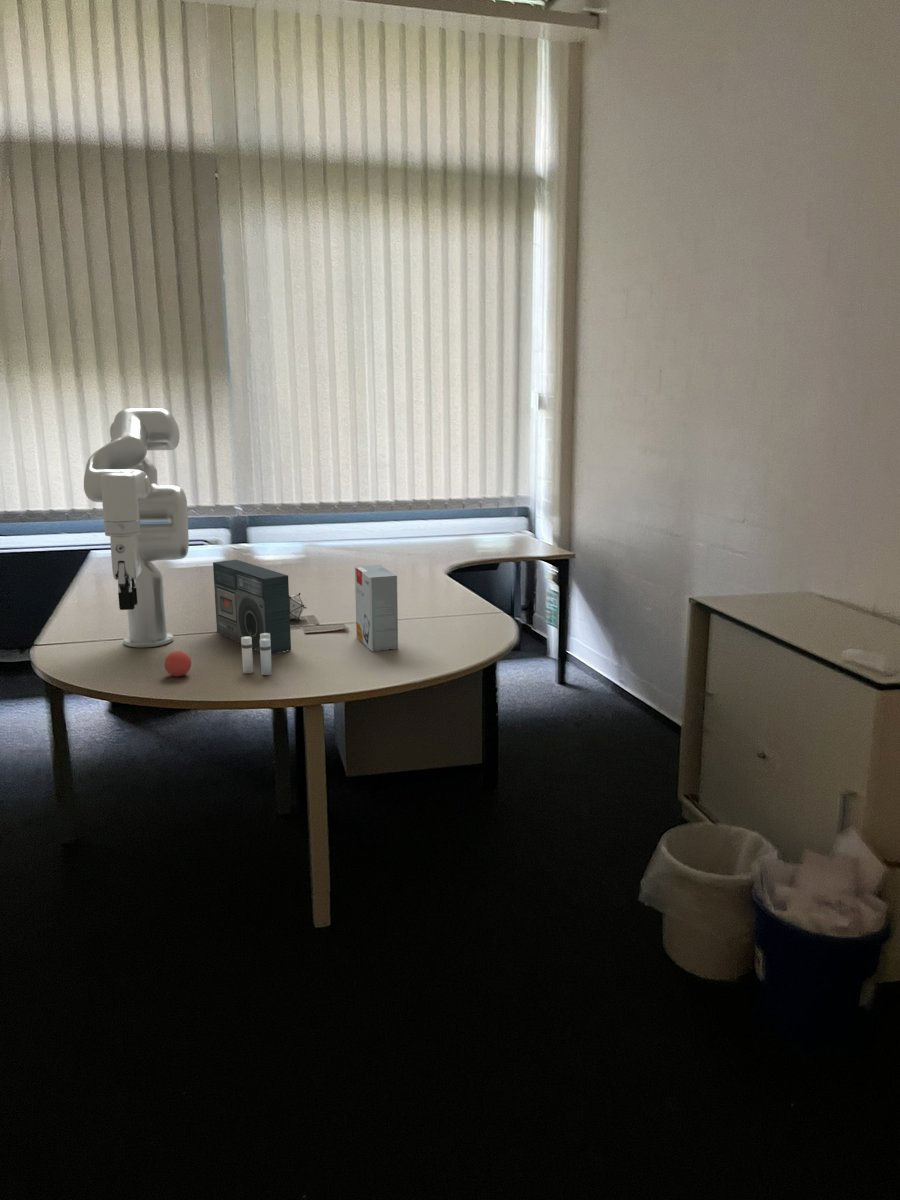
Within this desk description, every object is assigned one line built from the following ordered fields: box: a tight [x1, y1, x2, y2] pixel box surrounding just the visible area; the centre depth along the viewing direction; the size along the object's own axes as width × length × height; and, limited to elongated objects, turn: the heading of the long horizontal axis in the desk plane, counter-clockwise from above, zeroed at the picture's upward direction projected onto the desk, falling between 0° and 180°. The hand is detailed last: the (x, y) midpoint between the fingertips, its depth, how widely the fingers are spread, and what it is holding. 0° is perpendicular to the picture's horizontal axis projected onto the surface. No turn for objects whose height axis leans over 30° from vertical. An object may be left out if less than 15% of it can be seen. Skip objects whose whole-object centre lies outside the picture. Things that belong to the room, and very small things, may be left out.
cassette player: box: [212, 559, 292, 655], centre depth 238 cm, size 29×7×20 cm, turn 39°
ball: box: [164, 650, 192, 677], centre depth 210 cm, size 6×6×6 cm
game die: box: [289, 592, 307, 622], centre depth 262 cm, size 9×8×10 cm
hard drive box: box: [354, 564, 399, 652], centre depth 236 cm, size 16×8×20 cm, turn 21°
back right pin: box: [260, 638, 273, 676], centre depth 211 cm, size 2×2×8 cm
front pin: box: [240, 636, 254, 674], centre depth 212 cm, size 2×2×8 cm
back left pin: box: [260, 633, 273, 669], centre depth 215 cm, size 2×2×8 cm
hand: (128, 606), depth 204 cm, fingers open, 3 cm apart
